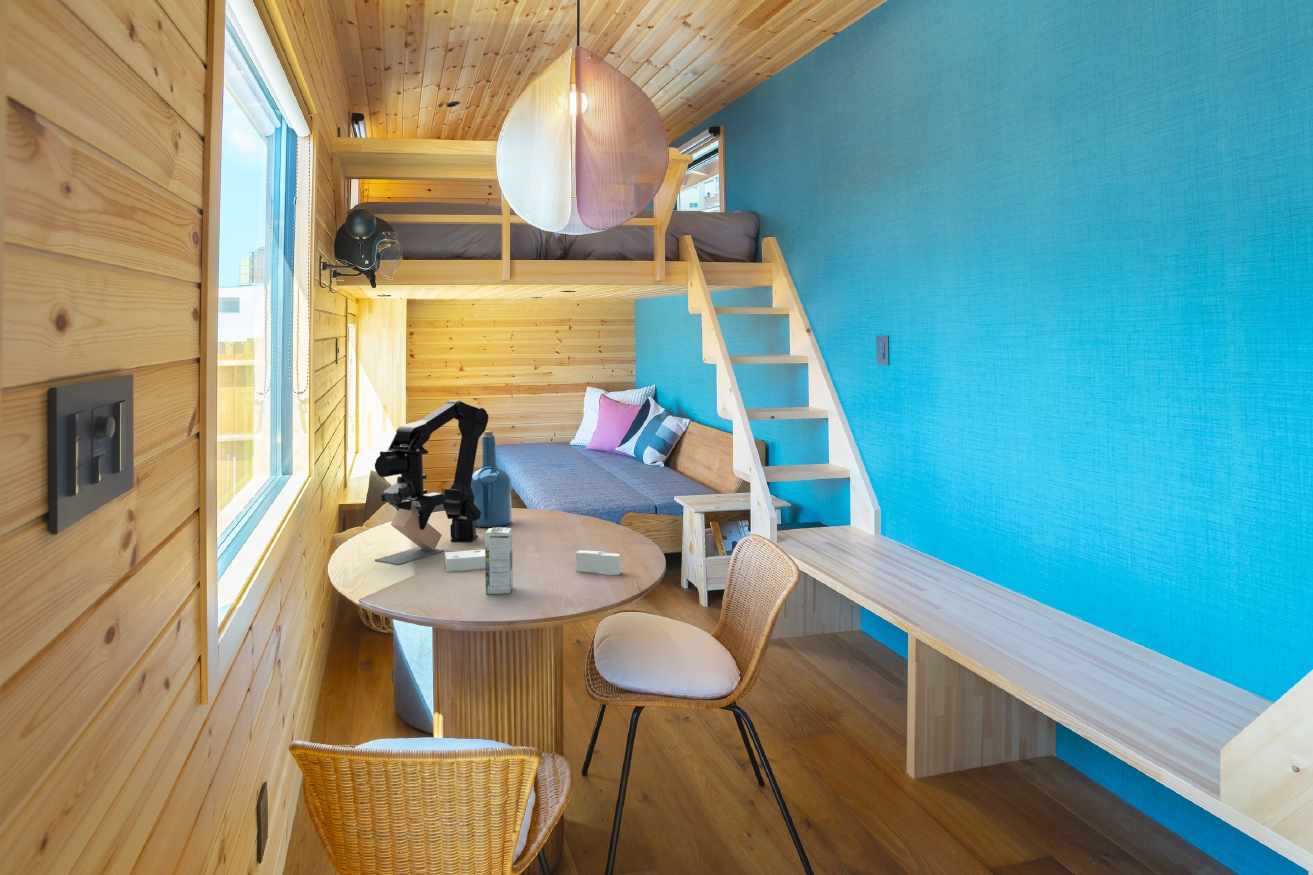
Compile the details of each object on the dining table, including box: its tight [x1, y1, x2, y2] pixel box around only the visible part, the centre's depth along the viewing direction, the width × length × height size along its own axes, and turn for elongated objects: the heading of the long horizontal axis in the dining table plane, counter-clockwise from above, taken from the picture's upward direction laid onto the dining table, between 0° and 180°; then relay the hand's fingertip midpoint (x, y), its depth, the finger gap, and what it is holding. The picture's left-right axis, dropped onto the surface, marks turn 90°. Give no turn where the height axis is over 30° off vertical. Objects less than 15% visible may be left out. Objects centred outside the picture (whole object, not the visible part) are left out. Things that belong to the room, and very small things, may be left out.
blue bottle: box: [471, 430, 513, 528], centre depth 260 cm, size 14×13×30 cm
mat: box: [374, 546, 444, 566], centre depth 223 cm, size 16×9×1 cm, turn 151°
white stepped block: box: [575, 550, 622, 576], centre depth 205 cm, size 15×11×6 cm
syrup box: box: [484, 526, 514, 595], centre depth 190 cm, size 6×6×14 cm
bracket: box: [444, 548, 485, 573], centre depth 212 cm, size 13×7×8 cm, turn 108°
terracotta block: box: [390, 509, 443, 551], centre depth 224 cm, size 5×5×14 cm
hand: (414, 528), depth 224 cm, fingers open, 6 cm apart
